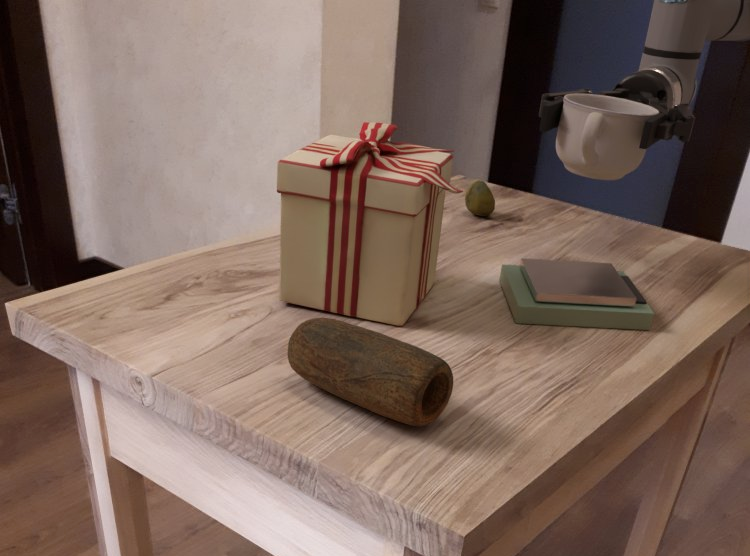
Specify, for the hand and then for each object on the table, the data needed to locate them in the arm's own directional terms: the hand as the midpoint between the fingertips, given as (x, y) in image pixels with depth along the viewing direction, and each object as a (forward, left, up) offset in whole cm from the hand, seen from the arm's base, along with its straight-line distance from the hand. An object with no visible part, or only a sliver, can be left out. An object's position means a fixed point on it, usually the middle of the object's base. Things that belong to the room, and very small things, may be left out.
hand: (593, 126), depth 87 cm
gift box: (+23, +7, -18) cm, 30 cm away
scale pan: (0, +7, -16) cm, 17 cm away
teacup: (-2, -3, -6) cm, 7 cm away
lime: (+7, -26, -18) cm, 33 cm away
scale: (0, +7, -18) cm, 19 cm away
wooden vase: (+24, +32, -18) cm, 44 cm away
